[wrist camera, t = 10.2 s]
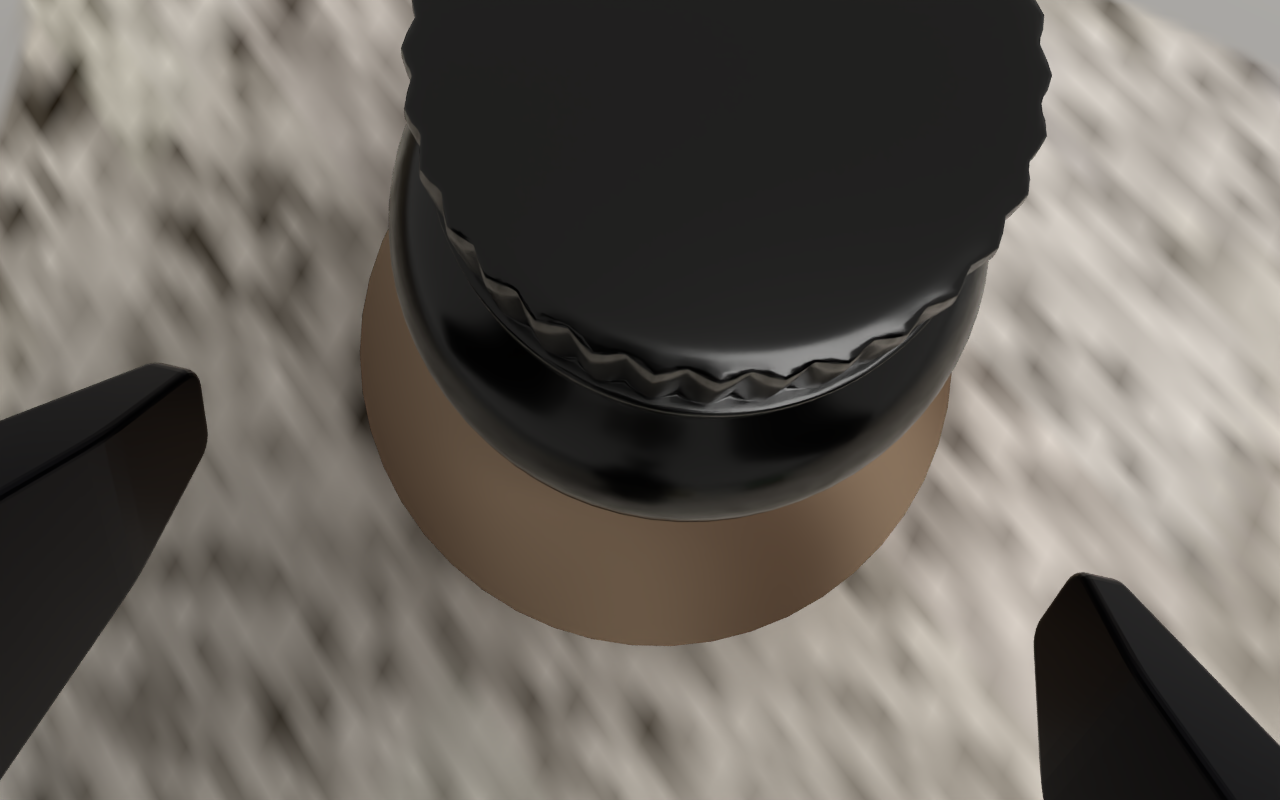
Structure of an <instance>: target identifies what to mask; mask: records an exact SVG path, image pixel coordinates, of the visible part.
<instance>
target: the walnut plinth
mask: <svg viewBox="0 0 1280 800" xmlns="http://www.w3.org/2000/svg"><path fill="white" fill-rule="evenodd" d="M360 361H361V375H362V390H363V396H364V401H365V405H366V410H367V415H368V420H369V425H370V430H371V432H372V435H373V438H374V441H375V444H376V447H377V449H378V452H379V455H380V458H381V461H382V464H383V467H384V468H385V470H386V472H387V474H388V476H389V478H390V480H391V482H392V484H393V486H394V488H395V490H396V492H397V494H398V496H399V498H400V500H401V502H402V503H403V505H404V506H405V507H406V509H407V510H408V512H409V513H410V515H411V516H412V517H413V519H414V520H415V522H416V523H417V525H418V526H419V528H420V529H421V530H422V532H423V533H424V535H425V536H426V537H427V538H428V539H429V540H430V541H431V542H432V543H433V544H434V545H435V547H436V548H437V549H438V550H439V551H440V552H441V553H442V554H443V555H444V556H445V557H446V559H447V560H448V561H449V562H450V563H451V564H452V565H453V566H455V567H456V568H457V569H458V570H459V571H461V572H462V573H463V574H464V575H465V576H467V577H468V578H469V579H470V580H471V581H473V582H474V583H475V584H476V585H477V586H479V587H480V588H481V589H482V590H484V591H486V592H487V593H489V594H490V595H492V596H494V597H495V598H497V599H498V600H500V601H502V602H503V603H505V604H506V605H508V606H510V607H511V608H513V609H514V610H516V611H518V612H520V613H523V614H525V615H527V616H529V617H531V618H534V619H536V620H538V621H540V622H543V623H545V624H547V625H549V626H551V627H554V628H557V629H561V630H564V631H567V632H571V633H574V634H577V635H581V636H584V637H587V638H591V639H596V640H603V641H609V642H615V643H622V644H628V645H653V646H675V645H684V644H693V643H702V642H711V641H715V640H719V639H723V638H727V637H731V636H735V635H739V634H743V633H747V632H751V631H753V630H756V629H758V628H761V627H763V626H766V625H768V624H771V623H773V622H776V621H778V620H781V619H783V618H786V617H788V616H790V615H792V614H793V613H795V612H797V611H799V610H800V609H802V608H804V607H806V606H807V605H809V604H811V603H813V602H814V601H816V600H818V599H820V598H821V597H823V596H824V595H826V594H827V593H828V592H830V591H831V590H832V589H834V588H835V587H836V586H837V585H839V584H840V583H841V582H843V581H844V580H845V579H847V578H848V577H849V576H851V575H852V574H853V573H854V572H855V571H856V570H857V569H858V568H859V567H860V566H861V565H862V564H863V563H864V562H865V561H866V560H867V559H868V558H869V557H870V556H871V555H872V554H873V553H874V552H875V551H876V550H877V549H878V548H879V547H880V546H881V545H882V544H883V543H884V541H885V540H886V539H887V537H888V536H889V535H890V533H891V532H892V531H893V529H894V528H895V527H896V525H897V524H898V523H899V521H900V520H901V519H902V517H903V516H904V515H905V513H906V511H907V510H908V508H909V506H910V504H911V503H912V501H913V499H914V497H915V496H916V494H917V492H918V490H919V488H920V487H921V485H922V483H923V481H924V479H925V477H926V474H927V472H928V469H929V467H930V464H931V462H932V459H933V457H934V454H935V452H936V449H937V447H938V444H939V440H940V436H941V432H942V428H943V424H944V420H945V416H946V412H947V408H948V399H949V391H950V382H951V374H950V376H949V377H948V379H947V381H946V382H945V384H944V386H943V387H942V389H941V390H940V392H939V394H938V395H937V396H936V397H935V399H934V400H933V401H932V403H931V404H930V405H929V407H928V408H927V409H926V411H925V412H924V413H923V414H922V416H921V417H920V418H919V419H918V420H917V421H916V422H915V423H914V424H913V425H912V426H911V428H910V429H909V430H908V431H907V432H906V433H905V434H904V435H903V436H902V437H901V438H900V439H899V440H898V441H897V442H895V443H894V444H893V445H892V446H891V447H890V448H889V449H887V450H886V451H885V452H884V453H883V454H882V455H880V456H879V457H878V458H877V459H875V460H874V461H872V462H871V463H869V464H868V465H867V466H865V467H864V468H862V469H861V470H860V471H858V472H857V473H855V474H854V475H852V476H850V477H848V478H847V479H845V480H843V481H841V482H840V483H838V484H836V485H834V486H832V487H831V488H829V489H827V490H824V491H822V492H820V493H818V494H815V495H813V496H811V497H809V498H806V499H804V500H802V501H799V502H797V503H793V504H790V505H787V506H784V507H781V508H778V509H775V510H772V511H768V512H765V513H760V514H755V515H751V516H746V517H741V518H736V519H727V520H719V521H710V522H672V521H660V520H649V519H643V518H638V517H633V516H627V515H622V514H618V513H615V512H611V511H608V510H604V509H601V508H597V507H594V506H591V505H588V504H586V503H583V502H581V501H578V500H576V499H573V498H571V497H568V496H566V495H564V494H562V493H560V492H558V491H556V490H554V489H552V488H550V487H548V486H547V485H545V484H543V483H541V482H539V481H537V480H536V479H534V478H533V477H531V476H530V475H528V474H527V473H525V472H524V471H522V470H520V469H519V468H517V467H516V466H514V465H513V464H512V463H511V462H509V461H508V460H507V459H506V458H504V457H503V456H502V455H501V454H499V453H498V452H497V451H496V450H495V449H493V448H492V447H491V446H490V445H489V444H488V443H487V442H486V441H485V440H484V439H483V438H482V437H481V436H480V435H479V434H478V433H477V432H476V431H475V430H474V429H473V428H472V427H471V426H470V425H468V423H467V422H466V421H465V420H464V419H463V418H462V416H461V415H460V414H459V413H458V411H457V410H456V409H455V408H454V407H453V405H452V404H451V403H450V402H449V401H448V399H447V398H446V397H445V395H444V394H443V392H442V391H441V389H440V388H439V386H438V385H437V383H436V382H435V380H434V379H433V377H432V376H431V374H430V373H429V371H428V369H427V367H426V365H425V363H424V361H423V359H422V358H421V356H420V354H419V352H418V350H417V348H416V346H415V344H414V341H413V339H412V336H411V334H410V331H409V329H408V327H407V324H406V322H405V319H404V316H403V312H402V309H401V305H400V302H399V299H398V295H397V292H396V287H395V281H394V276H393V271H392V265H391V256H390V244H389V229H388V231H387V233H386V235H385V237H384V239H383V241H382V244H381V247H380V249H379V252H378V255H377V258H376V261H375V264H374V267H373V270H372V273H371V276H370V280H369V284H368V289H367V294H366V299H365V304H364V309H363V314H362V329H361V345H360Z"/></svg>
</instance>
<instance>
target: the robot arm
mask: <svg viewBox="0 0 1280 800" xmlns="http://www.w3.org/2000/svg"><path fill="white" fill-rule="evenodd" d="M207 437H208V432H207V424H206V417H205V411H204V404H203V397H202V390H201V384H200V380H199V378H198V376H197V375H196V374H195V373H194V372H193V371H191V370H189V369H185V368H181V367H176V366H172V365H167V364H163V363H150V364H147V365H144V366H141V367H138V368H136V369H133V370H131V371H128V372H125V373H123V374H120V375H118V376H115V377H113V378H110V379H107V380H105V381H102V382H100V383H97V384H94V385H92V386H89V387H87V388H84V389H81V390H79V391H76V392H74V393H71V394H68V395H66V396H63V397H61V398H58V399H55V400H53V401H50V402H48V403H45V404H43V405H40V406H37V407H35V408H32V409H30V410H27V411H24V412H22V413H19V414H17V415H14V416H11V417H9V418H6V419H4V420H1V421H0V780H1V778H2V777H3V775H4V774H5V772H6V771H7V769H8V768H9V766H10V765H11V764H12V762H13V761H14V759H15V758H16V756H17V755H18V753H19V752H20V750H21V749H22V747H23V746H24V745H25V743H26V742H27V740H28V739H29V737H30V736H31V734H32V733H33V731H34V730H35V728H36V727H37V726H38V724H39V723H40V721H41V720H42V718H43V717H44V715H45V714H46V712H47V711H48V709H49V708H50V707H51V705H52V704H53V702H54V701H55V699H56V698H57V696H58V695H59V693H60V692H61V690H62V689H63V688H64V686H65V685H66V683H67V682H68V680H69V679H70V677H71V676H72V674H73V673H74V671H75V670H76V669H77V667H78V666H79V664H80V663H81V661H82V660H83V658H84V657H85V655H86V654H87V652H88V651H89V650H90V648H91V647H92V645H93V644H94V642H95V641H96V639H97V638H98V636H99V635H100V633H101V632H102V631H103V629H104V628H105V626H106V625H107V623H108V622H109V620H110V619H111V617H112V616H113V614H114V613H115V612H116V610H117V609H118V607H119V606H120V604H121V603H122V601H123V600H124V598H125V597H126V595H127V594H128V592H129V591H130V589H131V588H132V586H133V584H134V583H135V581H136V580H137V578H138V576H139V575H140V573H141V571H142V569H143V568H144V566H145V564H146V562H147V561H148V559H149V557H150V555H151V553H152V551H153V549H154V547H155V545H156V544H157V542H158V540H159V538H160V536H161V534H162V532H163V530H164V528H165V527H166V525H167V523H168V521H169V519H170V517H171V515H172V513H173V511H174V509H175V508H176V506H177V504H178V502H179V500H180V498H181V496H182V494H183V492H184V491H185V489H186V487H187V485H188V483H189V481H190V479H191V477H192V475H193V473H194V472H195V470H196V468H197V466H198V464H199V462H200V460H201V458H202V456H203V454H204V451H205V448H206V444H207ZM1034 661H1035V681H1036V701H1037V721H1038V740H1039V760H1040V773H1041V785H1042V792H1043V799H1044V800H1280V745H1279V744H1278V743H1277V742H1276V741H1275V740H1274V739H1273V738H1272V737H1271V736H1270V735H1269V734H1268V733H1267V732H1266V731H1265V730H1264V729H1263V728H1262V727H1261V726H1260V725H1259V724H1258V723H1257V722H1256V721H1255V720H1254V718H1253V717H1252V716H1251V715H1250V714H1249V713H1248V712H1247V711H1246V710H1245V709H1244V708H1243V707H1242V706H1241V705H1240V704H1239V703H1238V702H1237V701H1236V700H1235V699H1234V698H1233V697H1232V696H1231V695H1230V694H1229V693H1228V692H1227V691H1226V690H1225V689H1224V687H1223V686H1222V685H1221V684H1220V683H1219V682H1218V681H1217V680H1216V679H1215V678H1214V677H1213V676H1212V675H1211V674H1210V673H1209V672H1208V671H1207V670H1206V669H1205V668H1204V667H1203V666H1202V665H1201V664H1200V663H1199V662H1198V661H1197V660H1196V659H1195V657H1194V656H1193V655H1192V654H1191V653H1190V652H1189V651H1188V650H1187V649H1186V648H1185V647H1184V646H1183V645H1182V644H1181V643H1180V642H1179V641H1178V640H1177V639H1176V638H1175V637H1174V636H1173V635H1172V634H1171V633H1170V632H1169V631H1168V630H1167V629H1166V628H1165V626H1164V625H1163V624H1162V623H1161V622H1160V621H1159V620H1158V619H1157V618H1156V617H1155V616H1154V615H1153V614H1152V613H1151V612H1150V611H1149V610H1148V609H1147V608H1146V607H1145V606H1144V605H1143V604H1142V603H1141V602H1140V601H1139V600H1138V599H1137V598H1136V597H1135V595H1134V594H1133V593H1132V592H1131V591H1130V590H1129V589H1128V588H1127V587H1126V586H1125V585H1124V584H1122V583H1121V582H1119V581H1117V580H1115V579H1112V578H1107V577H1103V576H1098V575H1094V574H1090V573H1085V572H1082V573H1076V574H1074V575H1073V576H1071V577H1070V578H1069V579H1068V581H1067V582H1066V583H1065V585H1064V586H1063V588H1062V589H1061V591H1060V592H1059V593H1058V595H1057V596H1056V598H1055V599H1054V601H1053V602H1052V604H1051V605H1050V606H1049V608H1048V609H1047V611H1046V612H1045V614H1044V615H1043V617H1042V618H1041V619H1040V621H1039V623H1038V626H1037V628H1036V632H1035V636H1034Z"/></svg>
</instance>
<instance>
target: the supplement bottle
mask: <svg viewBox="0 0 1280 800" xmlns="http://www.w3.org/2000/svg"><path fill="white" fill-rule="evenodd" d="M412 7H413V13H414V16H415V18H414V20H413V22H412V24H411V26H410V28H409V30H408V31H407V34H406V36H405V39H404V42H403V44H402V47H401V56H402V60H403V63H404V66H405V69H406V72H407V75H408V77H409V79H410V84H409V87H408V91H407V95H406V101H405V107H404V117H405V120H406V125H405V128H404V131H403V134H402V137H401V140H400V143H399V147H398V151H397V156H396V160H395V165H394V169H393V174H392V182H391V190H390V199H389V244H390V256H391V265H392V271H393V276H394V281H395V287H396V292H397V295H398V299H399V302H400V305H401V309H402V312H403V316H404V319H405V322H406V324H407V327H408V329H409V331H410V334H411V336H412V339H413V341H414V344H415V346H416V348H417V350H418V352H419V354H420V356H421V358H422V359H423V361H424V363H425V365H426V367H427V369H428V371H429V373H430V374H431V376H432V377H433V379H434V380H435V382H436V383H437V385H438V386H439V388H440V389H441V391H442V392H443V394H444V395H445V397H446V398H447V399H448V401H449V402H450V403H451V404H452V405H453V407H454V408H455V409H456V410H457V411H458V413H459V414H460V415H461V416H462V418H463V419H464V420H465V421H466V422H467V423H468V425H470V426H471V427H472V428H473V429H474V430H475V431H476V432H477V433H478V434H479V435H480V436H481V437H482V438H483V439H484V440H485V441H486V442H487V443H488V444H489V445H490V446H491V447H492V448H493V449H495V450H496V451H497V452H498V453H499V454H501V455H502V456H503V457H504V458H506V459H507V460H508V461H509V462H511V463H512V464H513V465H514V466H516V467H517V468H519V469H520V470H522V471H524V472H525V473H527V474H528V475H530V476H531V477H533V478H534V479H536V480H537V481H539V482H541V483H543V484H545V485H547V486H548V487H550V488H552V489H554V490H556V491H558V492H560V493H562V494H564V495H566V496H568V497H571V498H573V499H576V500H578V501H581V502H583V503H586V504H588V505H591V506H594V507H597V508H601V509H604V510H608V511H611V512H615V513H618V514H622V515H627V516H633V517H638V518H643V519H649V520H660V521H672V522H710V521H719V520H727V519H736V518H741V517H746V516H751V515H755V514H760V513H765V512H768V511H772V510H775V509H778V508H781V507H784V506H787V505H790V504H793V503H797V502H799V501H802V500H804V499H806V498H809V497H811V496H813V495H815V494H818V493H820V492H822V491H824V490H827V489H829V488H831V487H832V486H834V485H836V484H838V483H840V482H841V481H843V480H845V479H847V478H848V477H850V476H852V475H854V474H855V473H857V472H858V471H860V470H861V469H862V468H864V467H865V466H867V465H868V464H869V463H871V462H872V461H874V460H875V459H877V458H878V457H879V456H880V455H882V454H883V453H884V452H885V451H886V450H887V449H889V448H890V447H891V446H892V445H893V444H894V443H895V442H897V441H898V440H899V439H900V438H901V437H902V436H903V435H904V434H905V433H906V432H907V431H908V430H909V429H910V428H911V426H912V425H913V424H914V423H915V422H916V421H917V420H918V419H919V418H920V417H921V416H922V414H923V413H924V412H925V411H926V409H927V408H928V407H929V405H930V404H931V403H932V401H933V400H934V399H935V397H936V396H937V395H938V394H939V392H940V390H941V389H942V387H943V386H944V384H945V382H946V381H947V379H948V377H949V376H950V374H951V373H952V371H953V369H954V368H955V366H956V364H957V362H958V360H959V358H960V356H961V353H962V351H963V349H964V347H965V345H966V343H967V341H968V339H969V336H970V333H971V331H972V328H973V325H974V322H975V319H976V317H977V314H978V311H979V307H980V303H981V299H982V295H983V291H984V287H985V282H986V275H987V269H988V262H989V260H990V259H991V258H992V257H993V256H994V255H995V253H996V252H997V250H998V248H999V244H1000V241H1001V237H1002V234H1003V229H1004V224H1005V220H1006V219H1007V218H1008V217H1010V216H1011V215H1012V214H1013V213H1014V212H1015V211H1016V210H1017V209H1018V208H1019V207H1020V206H1021V205H1022V204H1023V202H1024V201H1025V200H1026V198H1027V196H1028V192H1029V182H1030V176H1029V162H1030V161H1031V160H1032V159H1033V158H1034V156H1035V155H1036V153H1037V152H1038V150H1039V149H1040V147H1041V146H1042V144H1043V142H1044V141H1045V139H1046V137H1047V134H1046V124H1045V118H1044V116H1043V113H1042V104H1041V103H1042V100H1043V97H1044V95H1045V94H1046V92H1047V90H1048V87H1049V84H1050V81H1051V77H1052V74H1051V71H1050V68H1049V65H1048V62H1047V59H1046V57H1045V55H1044V53H1043V50H1042V48H1041V46H1040V37H1041V34H1042V31H1043V23H1044V14H1043V12H1042V11H1041V9H1040V7H1039V5H1038V4H1037V2H1036V0H412Z"/></svg>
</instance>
